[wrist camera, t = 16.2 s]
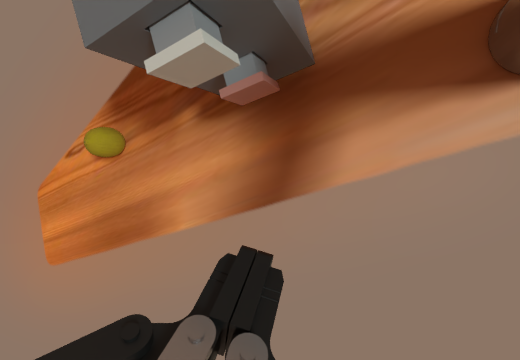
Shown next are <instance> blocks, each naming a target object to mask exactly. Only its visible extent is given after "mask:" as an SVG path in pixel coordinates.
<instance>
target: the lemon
mask: <svg viewBox="0 0 520 360" xmlns="http://www.w3.org/2000/svg"><path fill="white" fill-rule="evenodd" d="M84 145H85V147H86V149H87V150H88V151H89V152H90V153H91V154H93V155H96V156H99V157H113V156H116V155H118V154H120V153H121V152H122V151H123V150H124V148H125V139H124V137H123V135H122V134H121V133H120V132H119V131H117V130H115V129H113V128H108V127H98V128H94V129H91V130H90V131H88V132H87V134H86V135H85V137H84Z"/></svg>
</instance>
